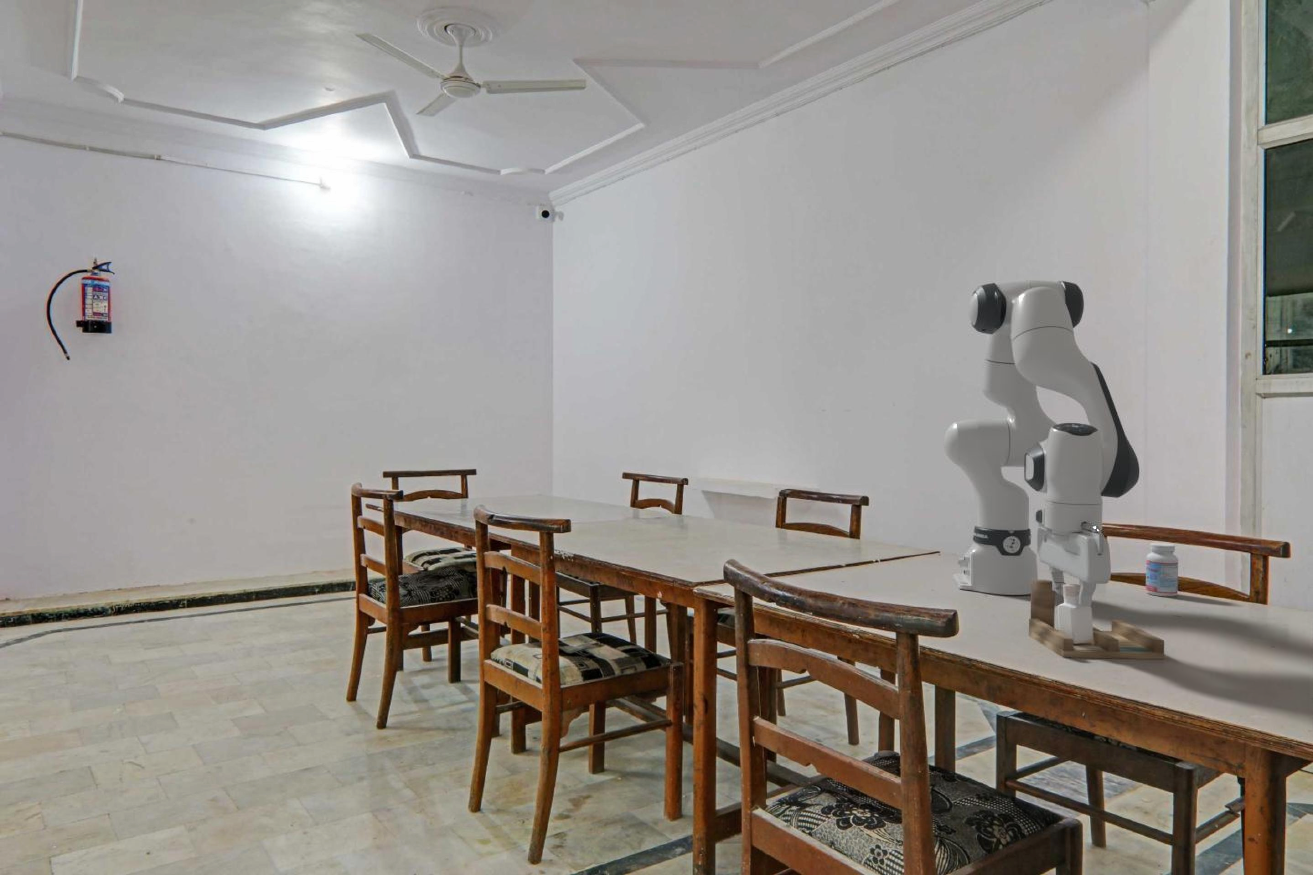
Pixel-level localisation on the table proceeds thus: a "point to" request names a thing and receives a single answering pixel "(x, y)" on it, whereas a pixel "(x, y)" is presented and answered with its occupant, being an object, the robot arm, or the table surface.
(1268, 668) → the table surface
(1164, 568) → the pill bottle
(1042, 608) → the dowel
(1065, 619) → the pepper shaker
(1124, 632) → the rack
